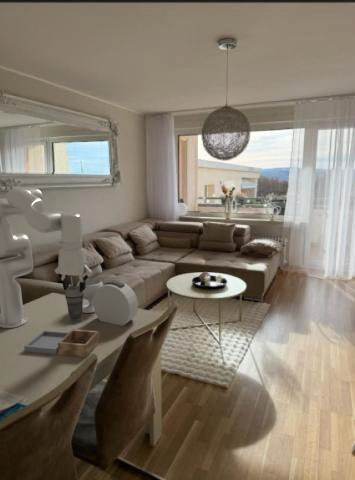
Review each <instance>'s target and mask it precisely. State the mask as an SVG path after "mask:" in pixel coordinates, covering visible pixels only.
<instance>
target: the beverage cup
mask: <svg viewBox="0 0 355 480" xmlns="http://www.w3.org/2000/svg"><path fill="white" fill-rule="evenodd" d="M69 277H70V282H71V285H69V287H68V288H67V290H65V294H64V297H65V301H66V305H67V311H68V319H69V323H70V324H71V325H77V324H81V323H82V322H83V321H82V320H83V312H82V307H83V306H84V305H83V304H84V301H83V300H84V298H83V297H84V293H83V291H82V292H80V286H79V285H77V284H76V283H75V284H74V281H73V276H70V275H69Z"/></svg>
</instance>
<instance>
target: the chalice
mask: <svg viewBox="0 0 355 480" xmlns="http://www.w3.org/2000/svg"><path fill="white" fill-rule="evenodd" d="M79 282H81V281H80V280H79V281H78V282H77V284H76V285H79ZM85 285H86V288H85V290H83V293H84V297H83V300H87V302H88V303H87V304H84V305H83V307H82V313H85V314H92V313H95V310H94V306H93V298H94V294H95V292H96V291H97V289H99V288H100V287H101V286H104V283H103V281H102V280H101V279H98V278H87V279H86V280H85Z"/></svg>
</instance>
